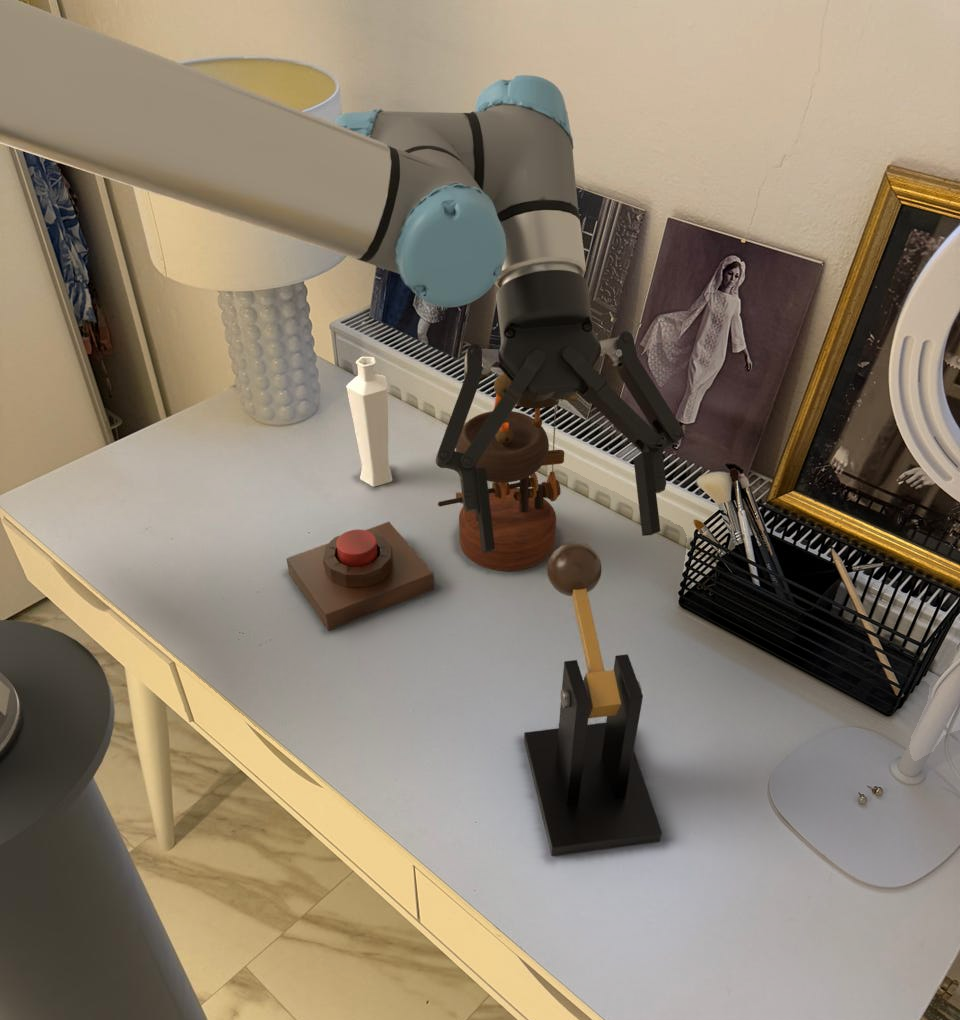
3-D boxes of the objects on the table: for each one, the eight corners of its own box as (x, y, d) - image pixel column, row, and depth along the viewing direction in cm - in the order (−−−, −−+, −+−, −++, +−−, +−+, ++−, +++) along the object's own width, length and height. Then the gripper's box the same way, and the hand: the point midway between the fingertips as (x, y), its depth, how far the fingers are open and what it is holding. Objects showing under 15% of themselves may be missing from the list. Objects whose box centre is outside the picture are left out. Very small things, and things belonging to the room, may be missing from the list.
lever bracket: (523, 740, 86) (528, 629, 76) (622, 728, 86) (639, 617, 77) (551, 856, 77) (561, 747, 67) (660, 841, 78) (685, 732, 68)
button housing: (328, 630, 96) (323, 601, 93) (288, 574, 102) (283, 544, 99) (434, 589, 100) (432, 559, 97) (390, 537, 106) (387, 507, 103)
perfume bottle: (405, 475, 114) (396, 360, 103) (377, 491, 112) (366, 375, 101) (379, 460, 116) (368, 345, 106) (351, 476, 114) (337, 360, 104)
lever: (540, 562, 81) (545, 534, 77) (591, 556, 81) (599, 529, 77) (572, 725, 75) (580, 704, 71) (627, 718, 75) (638, 697, 71)
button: (348, 572, 96) (346, 559, 95) (331, 550, 99) (329, 537, 97) (384, 559, 98) (382, 545, 96) (366, 538, 100) (365, 524, 99)
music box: (535, 494, 111) (550, 339, 96) (584, 554, 105) (608, 399, 90) (415, 532, 107) (410, 376, 91) (459, 597, 100) (461, 441, 85)
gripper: (674, 289, 84) (702, 532, 84) (387, 311, 81) (416, 562, 81) (703, 253, 76) (734, 520, 76) (388, 277, 73) (420, 553, 74)
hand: (570, 542), depth 79 cm, fingers open, 13 cm apart
